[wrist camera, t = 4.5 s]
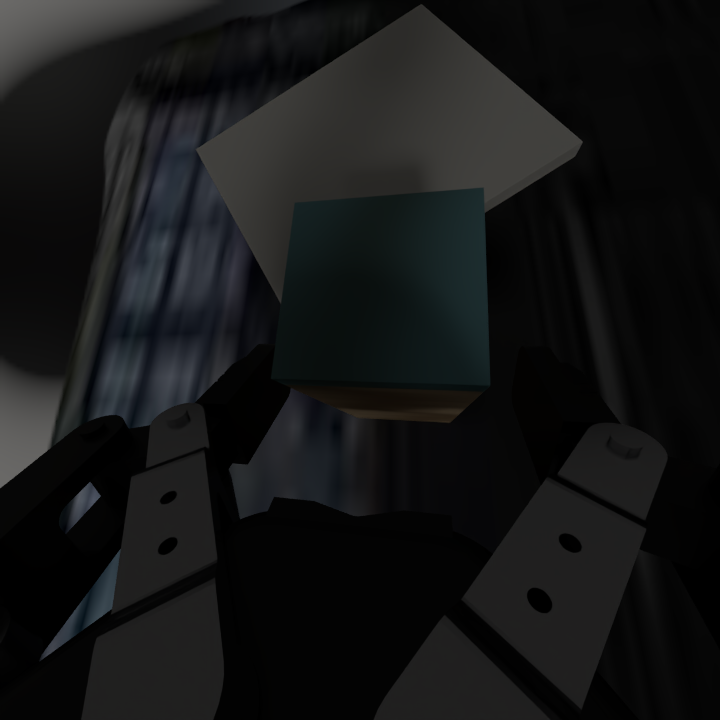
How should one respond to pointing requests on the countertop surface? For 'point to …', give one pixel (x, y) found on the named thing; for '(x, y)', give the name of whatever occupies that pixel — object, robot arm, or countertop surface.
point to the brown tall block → (387, 305)
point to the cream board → (383, 134)
